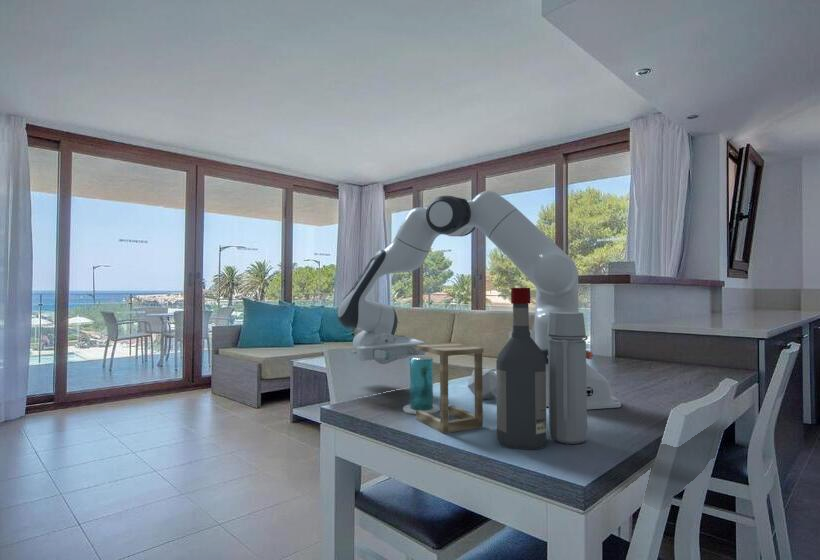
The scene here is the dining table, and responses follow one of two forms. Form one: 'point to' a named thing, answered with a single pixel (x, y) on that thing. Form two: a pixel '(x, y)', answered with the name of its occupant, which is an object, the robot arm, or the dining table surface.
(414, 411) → the coaster
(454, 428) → the rack
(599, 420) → the dining table surface
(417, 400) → the can
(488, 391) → the die
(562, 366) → the water bottle
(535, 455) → the dining table surface
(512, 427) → the liquor
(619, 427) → the dining table surface
